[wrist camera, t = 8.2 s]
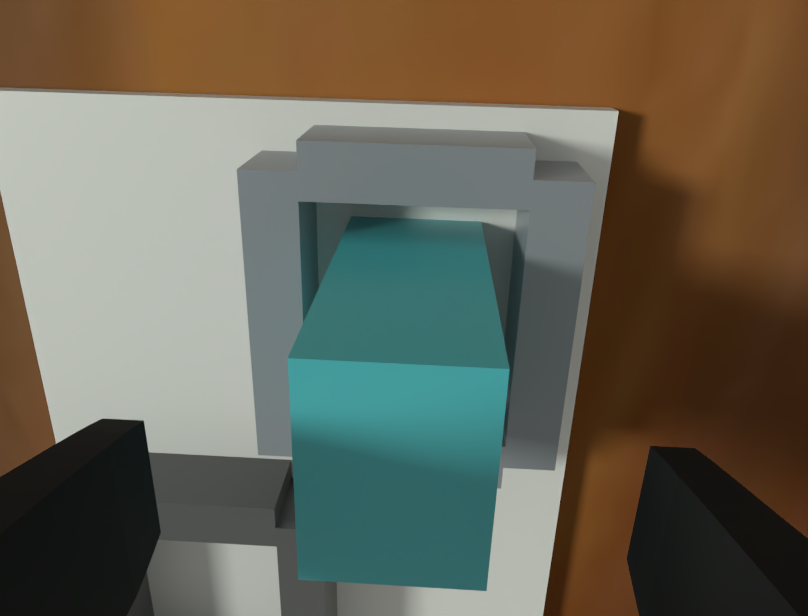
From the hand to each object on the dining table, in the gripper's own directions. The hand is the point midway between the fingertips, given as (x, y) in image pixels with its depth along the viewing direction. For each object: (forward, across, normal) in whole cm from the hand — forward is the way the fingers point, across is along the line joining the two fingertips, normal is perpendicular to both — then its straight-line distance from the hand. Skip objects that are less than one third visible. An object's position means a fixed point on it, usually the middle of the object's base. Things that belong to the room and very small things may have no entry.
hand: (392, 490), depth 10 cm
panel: (+8, +3, +4) cm, 9 cm away
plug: (+7, 0, 0) cm, 7 cm away
